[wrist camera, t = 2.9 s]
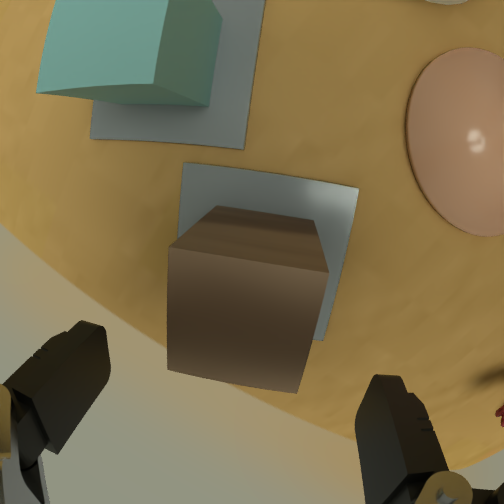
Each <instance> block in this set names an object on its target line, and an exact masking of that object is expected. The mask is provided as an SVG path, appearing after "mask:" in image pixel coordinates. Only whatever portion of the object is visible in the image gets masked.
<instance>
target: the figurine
mask: <svg viewBox="0 0 504 504" xmlns="http://www.w3.org/2000/svg"><path fill="white" fill-rule="evenodd" d="M495 415H496V417H499V416H502V418H501V426H502V427H504V405H503V406H502V407H501V408H499V409H498V410H497V411H496V414H495Z"/></svg>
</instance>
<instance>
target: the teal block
mask: <svg viewBox="0 0 504 504" xmlns="http://www.w3.org/2000/svg"><path fill="white" fill-rule="evenodd" d="M222 20H223V19H222V17H221V15H220V14H219V12H218V10H217V9H216V7H215V5H214V4H213V2H212V0H56V2H55V5H54V9H53V12H52V16H51V20H50V24H49V27H48V32H47V36H46V40H45V45H44V49H43V54H42V60H41V65H40V71H39V77H38V83H37V90H36V93H41V94H51V95H60V96H69V97H77V98H84V99H91V100H98V101H105V102H111V103H117V104H160V105H187V106H204V107H209V103H210V95H211V88H212V81H213V75H214V68H215V62H216V55H217V49H218V43H219V37H220V31H221V25H222Z"/></svg>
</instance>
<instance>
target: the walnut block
mask: <svg viewBox="0 0 504 504" xmlns="http://www.w3.org/2000/svg"><path fill="white" fill-rule="evenodd" d="M328 277H329V270H328V266H327V263H326V259H325V256H324V252H323V249H322V246H321V242H320V239H319V235H318V232H317V229H316V226H315V222H314V220H309V219H303V218H297V217H291V216H285V215H278V214H272V213H266V212H259V211H253V210H246V209H239V208H232V207H226V206H219V205H216V206H215V207H214V208H213V209H212V210H211V211H209V212H208V213H207V214H206V215H205V216H204V217H202V218H201V219H200V220H199V221H198V222H197V223H195V224H194V225H193V226H192V227H191V228H190V229H189V230H187V231H186V232H185V233H184V234H183V235H182V236H181V237H179V238H178V239H177V240H176V241H175V242H174V243H173V244H172V245H170V246H169V254H168V283H167V368H168V370H171V371H175V372H179V373H184V374H188V375H193V376H197V377H202V378H206V379H211V380H216V381H221V382H226V383H231V384H237V385H243V386H248V387H254V388H260V389H267V390H274V391H281V392H288V393H296V394H297V392H298V389H299V385H300V382H301V379H302V375H303V372H304V369H305V365H306V362H307V358H308V355H309V351H310V348H311V344H312V340H313V337H314V333H315V329H316V325H317V322H318V318H319V314H320V310H321V306H322V302H323V298H324V294H325V290H326V286H327V281H328Z"/></svg>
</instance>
